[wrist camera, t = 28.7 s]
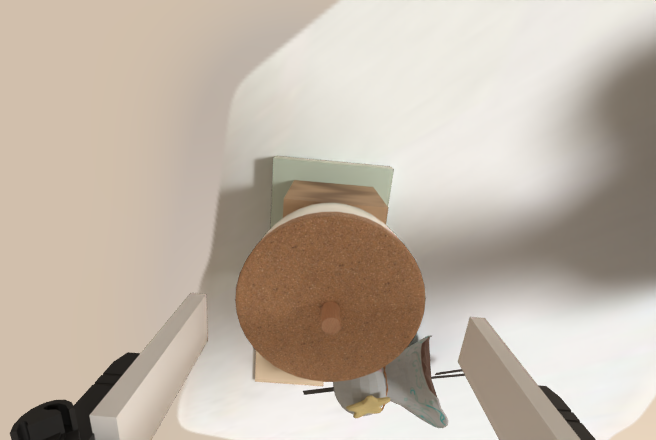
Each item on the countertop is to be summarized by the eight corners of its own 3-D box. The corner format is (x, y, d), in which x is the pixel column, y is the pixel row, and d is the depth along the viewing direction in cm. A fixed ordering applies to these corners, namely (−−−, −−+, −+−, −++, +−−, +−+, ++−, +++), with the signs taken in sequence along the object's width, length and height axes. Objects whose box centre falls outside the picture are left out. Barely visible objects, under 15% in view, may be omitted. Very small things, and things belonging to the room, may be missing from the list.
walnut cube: (373, 186, 31) (388, 207, 24) (363, 258, 34) (374, 299, 26) (294, 179, 31) (283, 198, 23) (290, 252, 33) (279, 291, 26)
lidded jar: (419, 216, 24) (476, 273, 15) (363, 326, 27) (381, 428, 18) (289, 164, 22) (264, 192, 14) (245, 285, 25) (200, 373, 17)
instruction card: (332, 299, 37) (332, 301, 37) (323, 383, 41) (323, 386, 41) (258, 293, 37) (257, 295, 37) (255, 379, 41) (254, 382, 40)
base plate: (389, 166, 33) (393, 169, 31) (374, 268, 36) (377, 276, 34) (276, 155, 32) (273, 157, 30) (272, 260, 36) (268, 268, 34)
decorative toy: (483, 310, 34) (306, 320, 31) (528, 416, 29) (315, 444, 25) (438, 340, 44) (297, 350, 40) (465, 425, 38) (302, 447, 34)
